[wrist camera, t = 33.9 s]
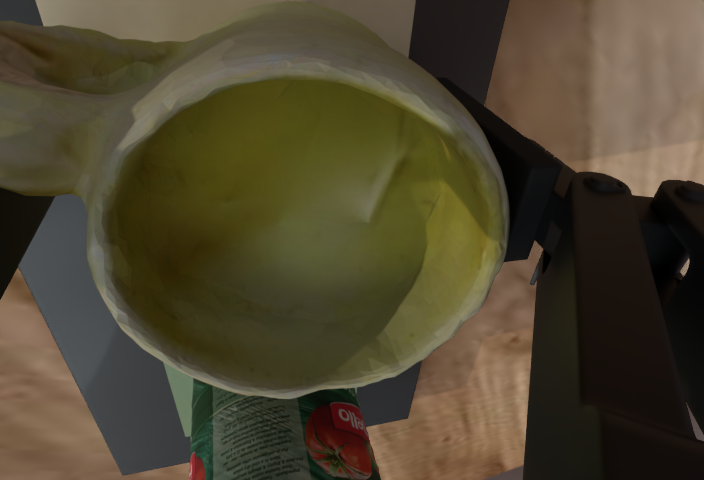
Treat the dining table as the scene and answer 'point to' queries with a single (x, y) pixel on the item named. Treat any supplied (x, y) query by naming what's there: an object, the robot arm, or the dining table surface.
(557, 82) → the dining table surface
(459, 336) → the dining table surface
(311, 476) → the canned tomato
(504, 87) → the dining table surface
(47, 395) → the dining table surface
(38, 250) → the black board
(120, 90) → the mug
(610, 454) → the robot arm
